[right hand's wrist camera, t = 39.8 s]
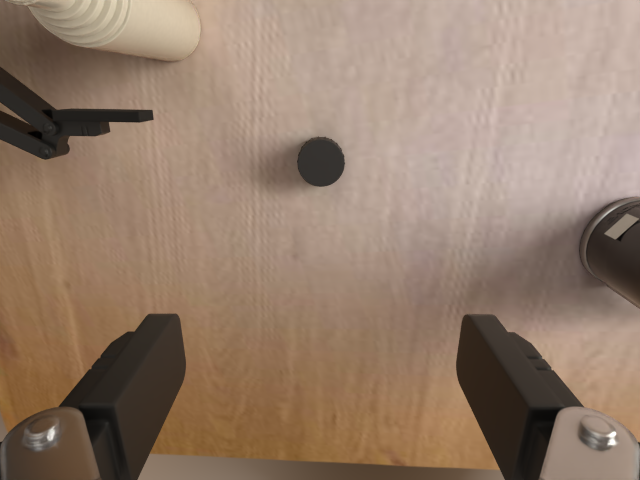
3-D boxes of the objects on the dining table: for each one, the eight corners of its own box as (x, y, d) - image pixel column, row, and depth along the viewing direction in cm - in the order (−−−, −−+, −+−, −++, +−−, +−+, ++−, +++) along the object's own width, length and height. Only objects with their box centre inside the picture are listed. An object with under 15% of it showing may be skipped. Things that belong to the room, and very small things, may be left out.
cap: (351, 149, 39) (353, 152, 37) (330, 189, 40) (331, 195, 38) (310, 128, 38) (310, 130, 36) (290, 170, 40) (289, 174, 38)
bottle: (201, 64, 36) (85, 42, 18) (136, 58, 36) (-47, 30, 18) (200, -10, 34) (68, -118, 16) (130, -17, 34) (-81, -134, 16)
